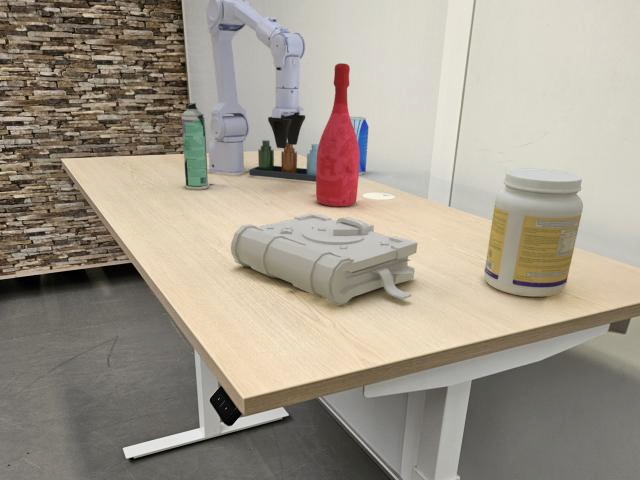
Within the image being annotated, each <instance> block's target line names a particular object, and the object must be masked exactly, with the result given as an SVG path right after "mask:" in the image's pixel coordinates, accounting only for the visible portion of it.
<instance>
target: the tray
mask: <svg viewBox="0 0 640 480" xmlns="http://www.w3.org/2000/svg"><path fill="white" fill-rule="evenodd" d="M248 171H249V176H255V177H256V176H257V177H263V178H264V177H265V178H276V179H285V180H295V181H304V182H312V183H313V182H315V183H316V176H315V175H307V168H302V167H297V174H295V173H285V172H281V165H274V171H265V170H258V166H255V167H252V168H249V170H248Z"/></svg>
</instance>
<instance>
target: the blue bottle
mask: <svg viewBox="0 0 640 480" xmlns="http://www.w3.org/2000/svg"><path fill="white" fill-rule="evenodd" d="M318 146H319V143H312V144H311V148H310V149H309V152H308V153H306V169H307V175H315V176H316V163H317V150H318Z"/></svg>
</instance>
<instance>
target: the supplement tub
mask: <svg viewBox="0 0 640 480" xmlns="http://www.w3.org/2000/svg"><path fill="white" fill-rule="evenodd" d="M582 182H583V178H582V176H580V175H578V174H576V173H571V172H568V171H561V170H554V169H546V168H526V167H524V168H512V169H508V170H507V171H506V173H505V178H504V180H503V184H504V186H505V187H504V188H503V189H501V190H500V191H499V192H498V193H497V194H496V197H495V200H494V207H493V212H492V219H491V226H490V233H489V240H488V246H487V252H486V254H487V255H486V260H485V266H484V270H483V271H484V272H483V273H484V275H483V276H484V279H485V281H486V282H487V284H488V285H489V286H491V287H493V288H494V289H496V290H498V291H501V292H504V293H508V294H510V295H515V296H521V297H529V298H531V297H535V298H536V297H537V298H538V297H539V298H540V297H542V298H543V297H551V296H554V295H557V294H559V293H561V292H562V291H563V290H564V289H565V287H566V285H567V283H568V278H569V273H570V268H571V263H572V259H573V256H574V251H575V246H576V241H577V238H578V237H577V236H578V233H579V227H580V222H581V219H582V218H581V217H582V213H583V208H584V204H583V199H581V197H580V196H579V195H578V192H581V190H582Z"/></svg>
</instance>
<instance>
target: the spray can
mask: <svg viewBox="0 0 640 480" xmlns="http://www.w3.org/2000/svg"><path fill="white" fill-rule="evenodd" d="M181 132H182V148H183V161H184V162H183V164H184V175H185V176H184V179H185V188H186V189H187V190H193V191H198V190H206V189H208V188H209V179H208V158H207V137H206V118H205V113H202V111H200V109H199V108H198V107H197V103H196V102H190V103H188V107H187V108H186V110H185V111H184V112H183V113H181Z"/></svg>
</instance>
